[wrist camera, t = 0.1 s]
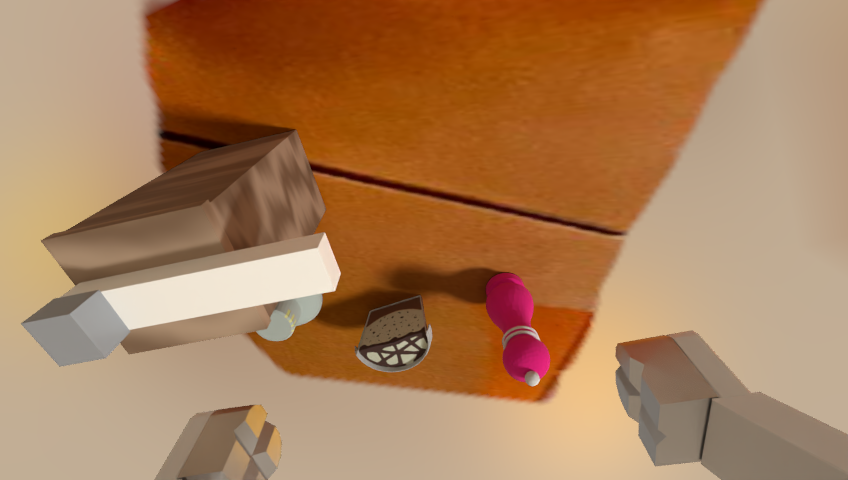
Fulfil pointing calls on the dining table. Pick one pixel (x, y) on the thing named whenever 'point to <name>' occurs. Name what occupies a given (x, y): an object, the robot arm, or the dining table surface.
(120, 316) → the cream rectangular block
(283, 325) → the air freshener
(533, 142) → the dining table surface
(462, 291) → the dining table surface
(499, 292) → the pepper mill
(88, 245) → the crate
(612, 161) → the dining table surface
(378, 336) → the food container
